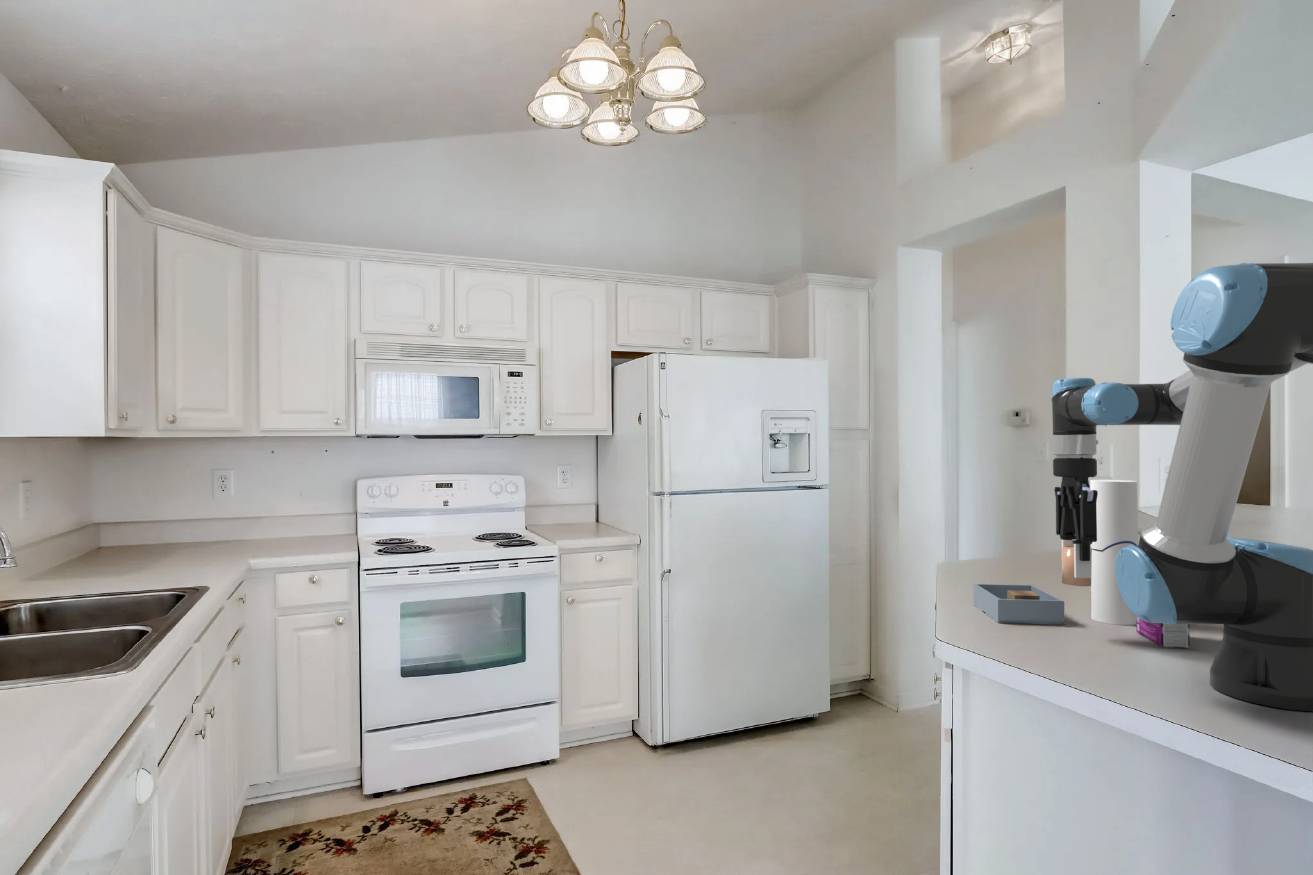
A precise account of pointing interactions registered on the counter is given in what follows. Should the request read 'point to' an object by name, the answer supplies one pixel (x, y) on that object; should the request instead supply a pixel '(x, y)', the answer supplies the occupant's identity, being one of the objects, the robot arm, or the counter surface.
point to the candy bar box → (1165, 633)
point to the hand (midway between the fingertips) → (1076, 574)
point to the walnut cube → (1022, 595)
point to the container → (1112, 547)
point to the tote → (1018, 605)
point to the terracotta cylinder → (1072, 569)
